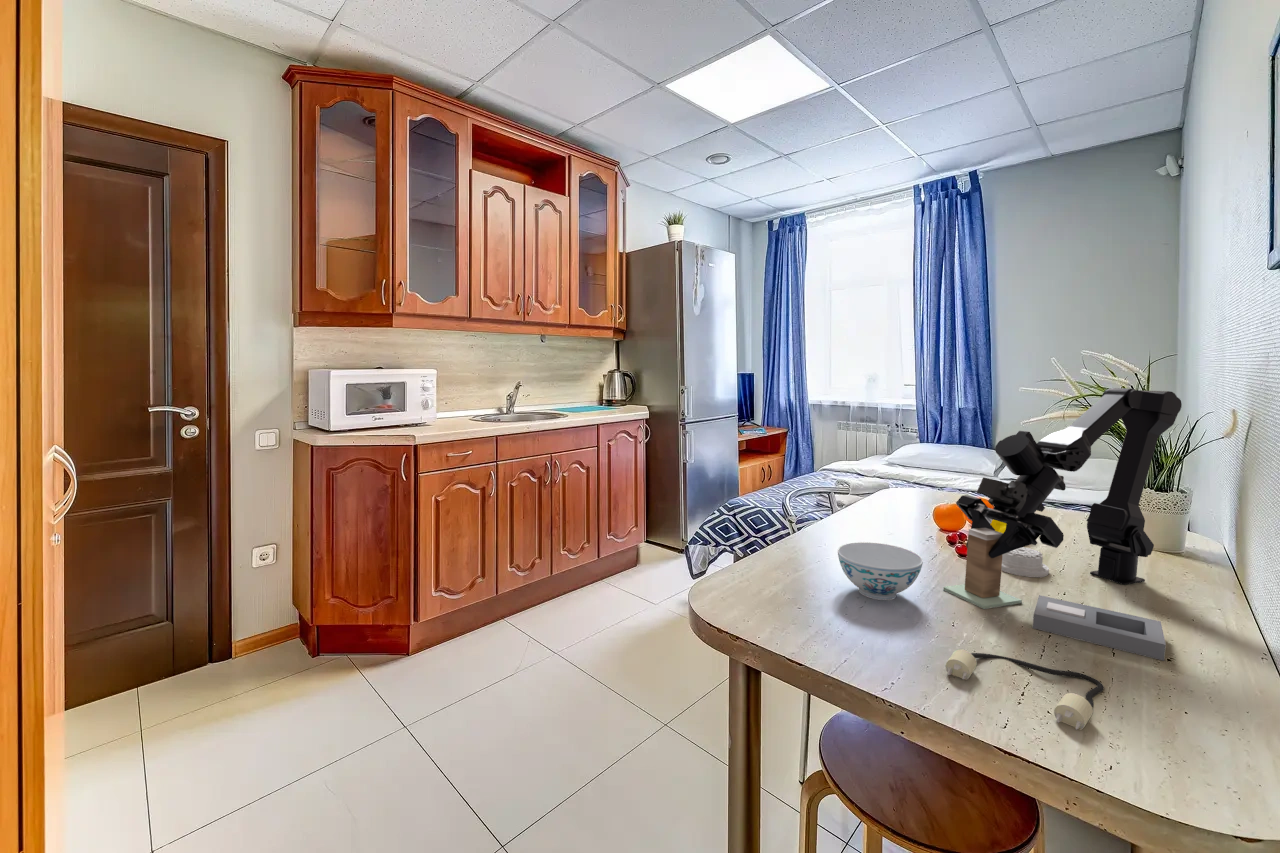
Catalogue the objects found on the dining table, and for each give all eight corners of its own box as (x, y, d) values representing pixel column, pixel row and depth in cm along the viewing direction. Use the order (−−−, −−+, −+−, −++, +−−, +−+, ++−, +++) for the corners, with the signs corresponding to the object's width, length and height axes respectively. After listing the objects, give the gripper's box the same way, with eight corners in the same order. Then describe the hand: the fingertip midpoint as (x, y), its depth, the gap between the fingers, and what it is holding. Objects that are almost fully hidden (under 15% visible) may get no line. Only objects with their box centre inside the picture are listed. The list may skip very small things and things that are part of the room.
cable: (984, 644, 87) (985, 623, 87) (1116, 693, 74) (1119, 669, 74) (938, 677, 78) (940, 654, 77) (1081, 739, 65) (1084, 712, 64)
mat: (979, 584, 110) (979, 581, 110) (1021, 603, 101) (1021, 599, 101) (943, 589, 107) (943, 587, 107) (984, 609, 99) (984, 605, 99)
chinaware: (931, 592, 106) (933, 554, 105) (905, 617, 95) (907, 575, 95) (854, 572, 116) (855, 537, 116) (823, 593, 106) (824, 555, 105)
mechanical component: (1005, 576, 115) (1058, 580, 113) (1006, 556, 115) (1060, 559, 113) (985, 560, 125) (1034, 563, 123) (986, 541, 124) (1035, 544, 122)
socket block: (1038, 608, 99) (1039, 593, 99) (1159, 636, 89) (1160, 619, 89) (1032, 628, 92) (1033, 611, 91) (1164, 660, 81) (1166, 642, 81)
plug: (981, 587, 107) (985, 527, 106) (999, 595, 103) (1004, 533, 102) (964, 589, 106) (968, 529, 105) (982, 597, 102) (986, 535, 101)
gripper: (966, 455, 112) (918, 512, 110) (1056, 472, 94) (1000, 540, 92) (994, 491, 115) (948, 547, 113) (1087, 514, 97) (1033, 580, 95)
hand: (978, 552), depth 103 cm, fingers open, 5 cm apart
